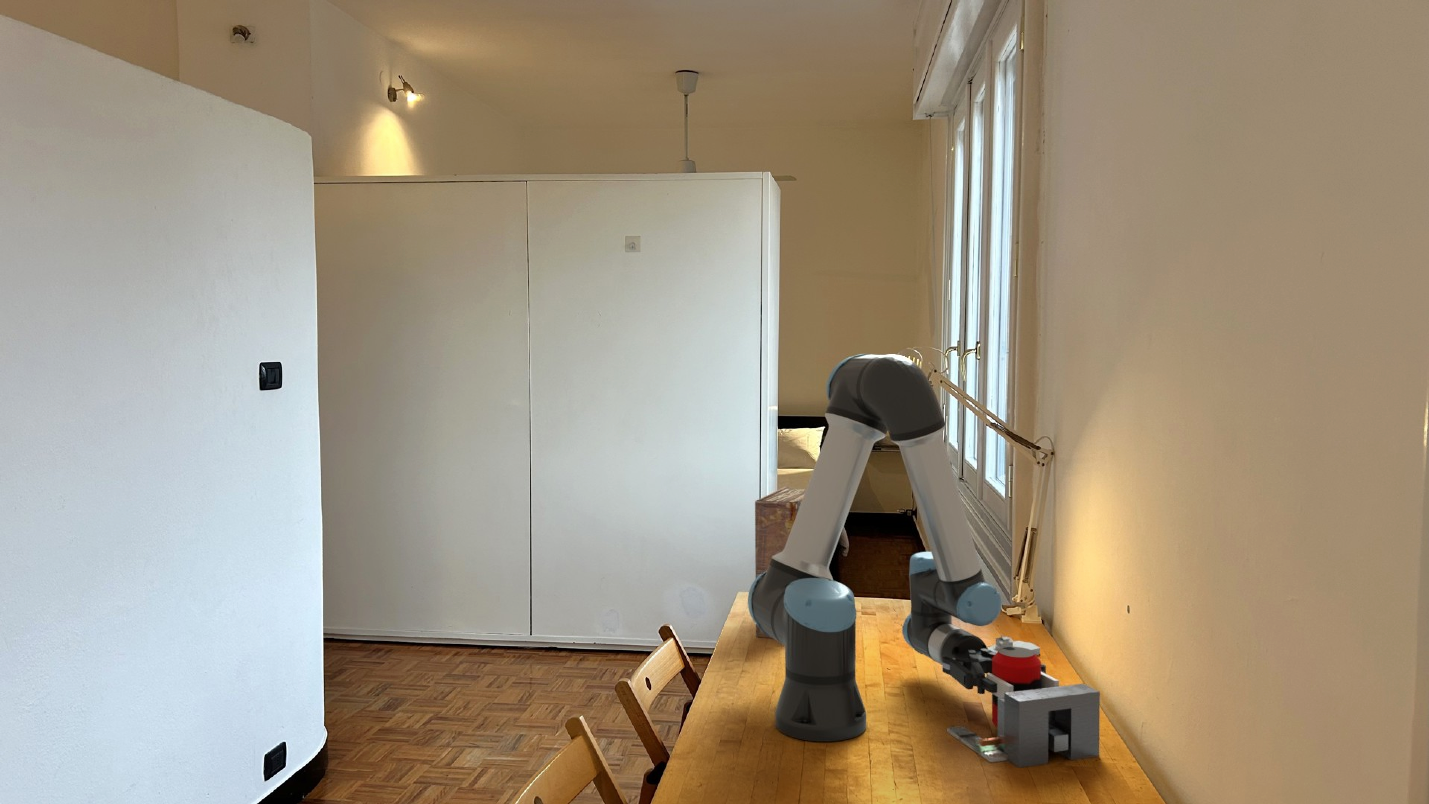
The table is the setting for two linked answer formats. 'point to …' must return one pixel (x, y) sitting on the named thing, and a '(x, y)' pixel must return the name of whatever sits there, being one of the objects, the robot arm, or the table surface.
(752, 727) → the table surface
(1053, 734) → the grey block
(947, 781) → the table surface
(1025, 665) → the soda can
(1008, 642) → the grey flat angular piece
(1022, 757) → the gauge bed
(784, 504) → the book
